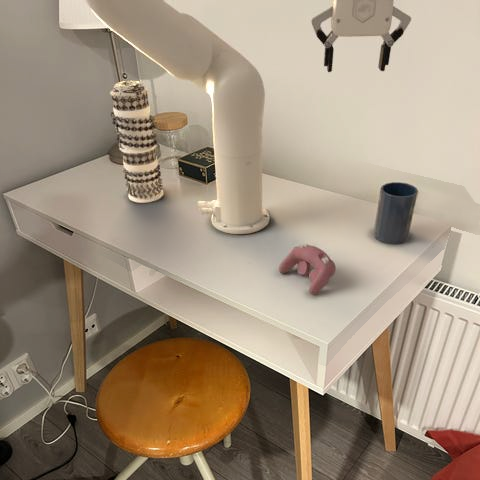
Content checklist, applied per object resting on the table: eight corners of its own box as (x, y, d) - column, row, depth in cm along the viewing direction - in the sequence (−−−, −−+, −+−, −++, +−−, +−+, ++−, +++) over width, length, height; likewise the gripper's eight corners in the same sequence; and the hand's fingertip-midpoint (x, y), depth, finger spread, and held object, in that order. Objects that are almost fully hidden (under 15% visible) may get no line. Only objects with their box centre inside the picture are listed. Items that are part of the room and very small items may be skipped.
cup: (376, 244, 96) (383, 197, 90) (371, 227, 101) (378, 182, 95) (411, 244, 96) (421, 197, 89) (404, 228, 101) (413, 182, 94)
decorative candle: (119, 195, 118) (97, 84, 102) (151, 184, 122) (134, 76, 107) (140, 207, 112) (119, 91, 97) (172, 194, 117) (158, 82, 101)
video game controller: (327, 297, 85) (344, 261, 83) (311, 296, 82) (328, 258, 80) (291, 272, 92) (306, 238, 89) (275, 271, 89) (289, 235, 86)
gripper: (315, -41, 78) (309, 75, 88) (426, -45, 76) (406, 74, 87) (313, -44, 83) (308, 66, 94) (416, -47, 82) (398, 64, 93)
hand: (355, 70), depth 91 cm, fingers open, 9 cm apart
